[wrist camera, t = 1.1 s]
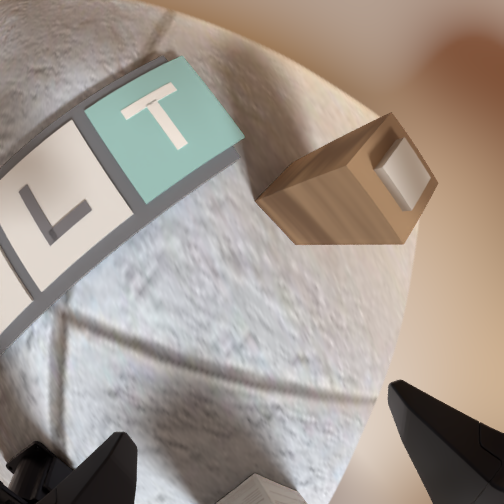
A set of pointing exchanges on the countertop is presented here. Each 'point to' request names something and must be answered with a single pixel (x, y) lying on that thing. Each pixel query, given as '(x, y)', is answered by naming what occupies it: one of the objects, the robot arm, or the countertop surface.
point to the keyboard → (103, 181)
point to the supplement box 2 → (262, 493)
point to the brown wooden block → (353, 189)
